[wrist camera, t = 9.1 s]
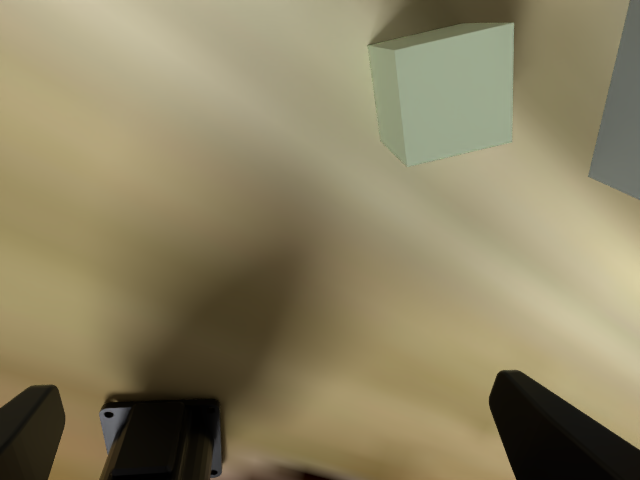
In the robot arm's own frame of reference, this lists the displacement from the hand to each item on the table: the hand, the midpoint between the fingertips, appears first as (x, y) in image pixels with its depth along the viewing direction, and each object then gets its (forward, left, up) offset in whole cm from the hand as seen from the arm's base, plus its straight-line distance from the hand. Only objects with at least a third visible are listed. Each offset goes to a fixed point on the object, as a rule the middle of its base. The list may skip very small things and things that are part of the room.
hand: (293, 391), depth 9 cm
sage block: (+5, -6, -12) cm, 14 cm away
